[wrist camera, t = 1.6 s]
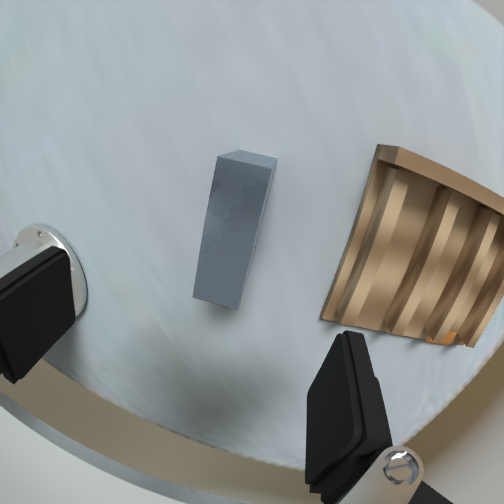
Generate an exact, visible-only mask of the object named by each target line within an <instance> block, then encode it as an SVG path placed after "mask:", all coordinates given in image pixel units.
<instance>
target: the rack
mask: <svg viewBox="0 0 504 504" xmlns="http://www.w3.org/2000/svg"><path fill="white" fill-rule="evenodd" d="M503 295H504V198H503V197H501V196H500V195H498V194H496V193H495V192H493V191H491V190H489V189H488V188H486V187H484V186H482V185H480V184H478V183H477V182H475V181H473V180H471V179H469V178H467V177H465V176H463V175H461V174H459V173H457V172H455V171H453V170H451V169H449V168H447V167H445V166H443V165H441V164H438V163H436V162H434V161H432V160H430V159H427V158H425V157H423V156H420V155H418V154H416V153H413V152H411V151H409V150H406V149H404V148H401V147H398V146H390V145H381V144H378V145H377V149H376V153H375V156H374V160H373V163H372V167H371V170H370V174H369V177H368V181H367V184H366V187H365V191H364V194H363V197H362V200H361V204H360V207H359V210H358V213H357V216H356V219H355V222H354V225H353V228H352V231H351V234H350V237H349V240H348V243H347V246H346V248H345V251H344V254H343V257H342V260H341V262H340V265H339V268H338V271H337V273H336V276H335V279H334V281H333V284H332V286H331V289H330V292H329V294H328V297H327V299H326V302H325V304H324V307H323V309H322V312H321V317H322V319H325V320H329V321H334V322H339V323H340V324H345V325H349V326H358V327H362V328H367V329H372V330H377V331H382V332H387V333H391V334H394V335H400V336H402V335H403V336H409V337H414V338H420V339H424V340H425V341H426V342H432V343H438V344H444V345H449V344H456V345H462V346H463V345H464V344H465V345H466V347H472V348H474V346H475V345H476V343H477V341H478V340H479V338H480V337H481V335H482V333H483V332H484V330H485V328H486V327H487V325H488V323H489V321H490V320H491V318H492V316H493V314H494V312H495V311H496V309H497V307H498V305H499V303H500V301H501V299H502V297H503Z"/></svg>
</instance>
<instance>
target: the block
mask: <svg viewBox="0 0 504 504" xmlns="http://www.w3.org/2000/svg"><path fill="white" fill-rule="evenodd" d="M276 162H277V158H272V157H268V156H264V155H260V154H256V153H251V152H247V151H242V150H239V151H235V152H232V153H228V154H225V155H221V156H218V157H217V162H216V167H215V172H214V177H213V182H212V187H211V192H210V197H209V202H208V208H207V213H206V219H205V224H204V230H203V236H202V242H201V247H200V254H199V260H198V266H197V272H196V279H195V285H194V292H193V298H196V299H200V300H204V301H207V302H211V303H214V304H218V305H222V306H226V307H229V308H233V309H237V310H238V307H239V303H240V300H241V296H242V293H243V290H244V286H245V283H246V279H247V276H248V273H249V269H250V266H251V262H252V259H253V255H254V251H255V247H256V242H257V238H258V234H259V230H260V226H261V222H262V218H263V214H264V210H265V206H266V202H267V198H268V194H269V190H270V186H271V182H272V178H273V174H274V170H275V166H276Z"/></svg>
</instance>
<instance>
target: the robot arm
mask: <svg viewBox="0 0 504 504" xmlns="http://www.w3.org/2000/svg"><path fill="white" fill-rule="evenodd" d="M86 296H87V291H86V282H85V278H84V274H83V271H82V268H81V265H80V263H79V261H78V259H77V257H76V255H75V253H74V252H73V250H72V249H71V247H70V246H69V245H68V243H67V242H66V241H65V240H64V238H63V237H61V236H60V235H59V234H58V233H57V232H56V231H54V230H53V229H51V228H50V227H47V226H45V225H41V224H34V225H30V226H28V227H26V228H24V229H23V230H22V231H21V232H20V233H19V234H18V236H17V238H16V240H15V243H14V249H13V250H11V251H9V252H8V253H6V254H4V255H3V256H1V257H0V375H1V374H2V373H3V375H4V377H5V378H6V379H7V380H9V381H10V382H11V383H13V384H15V383H16V382H17V381H18V380H19V379H22V378H23V377H24V376H25V375H26V374H27V373H28V372H29V370H30V369H31V368H32V367H33V366H34V365H35V364H36V363H37V362H38V361H39V360H40V359H41V357H42V356H43V355H44V354H45V353H46V352H47V351H48V350H49V349H50V348H51V347H52V346H53V345H54V344H55V343H56V341H57V340H58V339H59V338H60V337H61V336H62V335H63V334H64V333H65V332H66V331H67V330H68V329H69V328H70V327H71V326H72V325H73V324H74V322H75V318H76V317H77V316H78V315H79V314H80V313H81V311H82V310H83V308H84V306H85V303H86ZM423 474H424V467H423V464H422V461H421V460H420V458H419V456H418V455H417V454H416V453H414V451H412V450H410V449H409V448H407V447H403V446H393V444H392V439H391V434H390V429H389V424H388V419H387V415H386V410H385V406H384V402H383V397H382V393H381V389H380V385H379V381H378V379H377V378H376V377H375V376H374V372H373V368H372V364H371V360H370V356H369V353H368V349H367V345H366V342H365V338H364V335H363V334H362V333H357V332H353V331H348V330H346V331H344V332H343V334H340V333H339V334H338V335H337V336H336V338H335V340H334V342H333V344H332V346H331V348H330V350H329V352H328V354H327V356H326V358H325V360H324V362H323V364H322V366H321V368H320V370H319V372H318V373H317V375H316V377H315V379H314V381H313V383H312V385H311V386H310V388H309V391H308V394H307V431H306V465H305V483H306V484H310V493H321V501H322V502H323V503H322V504H453V503H452V502H450V501H449V500H448V499H446V498H445V497H443V496H442V495H440V494H439V493H438V492H436V491H435V490H434V489H433V488H431V487H430V486H429V485H427V484H426V483H425V482H423V481H422V477H423ZM0 504H256V503H250V502H245V501H240V500H235V499H230V498H226V497H221V496H217V495H213V494H209V493H205V492H201V491H197V490H194V489H190V488H187V487H184V486H180V485H177V484H174V483H171V482H168V481H165V480H162V479H159V478H156V477H154V476H151V475H148V474H145V473H143V472H140V471H138V470H136V469H133V468H131V467H128V466H126V465H124V464H121V463H119V462H117V461H114V460H112V459H110V458H108V457H106V456H104V455H102V454H100V453H98V452H96V451H93V450H92V449H90V448H88V447H86V446H84V445H82V444H80V443H78V442H77V441H74V440H73V439H71V438H69V437H67V436H66V435H64V434H62V433H61V432H59V431H57V430H56V429H54V428H52V427H51V426H49V425H48V424H46V423H45V422H43V421H42V420H40V419H38V418H37V417H35V416H34V415H33V414H31V413H29V412H28V411H27V410H25V409H24V408H23V407H21V406H20V405H18V404H17V403H16V402H14V401H13V400H12V399H10V398H9V397H7V396H6V395H5V394H4V393H3V392H1V391H0Z"/></svg>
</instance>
